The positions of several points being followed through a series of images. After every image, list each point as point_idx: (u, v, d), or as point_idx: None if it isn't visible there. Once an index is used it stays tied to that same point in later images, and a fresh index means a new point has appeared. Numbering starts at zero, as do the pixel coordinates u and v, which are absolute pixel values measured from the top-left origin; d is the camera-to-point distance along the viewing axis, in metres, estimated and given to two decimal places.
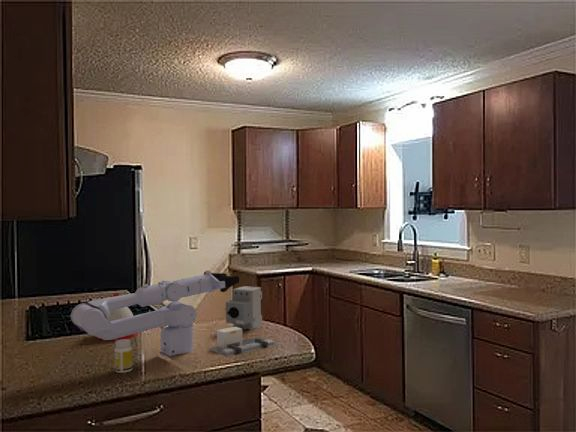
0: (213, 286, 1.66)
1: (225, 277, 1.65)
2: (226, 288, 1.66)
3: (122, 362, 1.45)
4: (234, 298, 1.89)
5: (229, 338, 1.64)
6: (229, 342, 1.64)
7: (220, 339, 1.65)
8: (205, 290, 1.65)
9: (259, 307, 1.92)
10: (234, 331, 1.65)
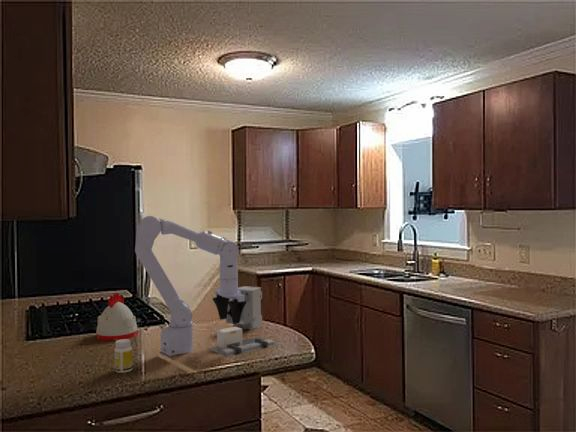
0: (231, 294, 1.63)
1: (244, 303, 1.63)
2: (234, 305, 1.61)
3: (122, 362, 1.45)
4: None
5: (229, 338, 1.64)
6: (229, 342, 1.64)
7: (220, 339, 1.65)
8: (228, 286, 1.63)
9: (259, 307, 1.92)
10: (234, 331, 1.65)
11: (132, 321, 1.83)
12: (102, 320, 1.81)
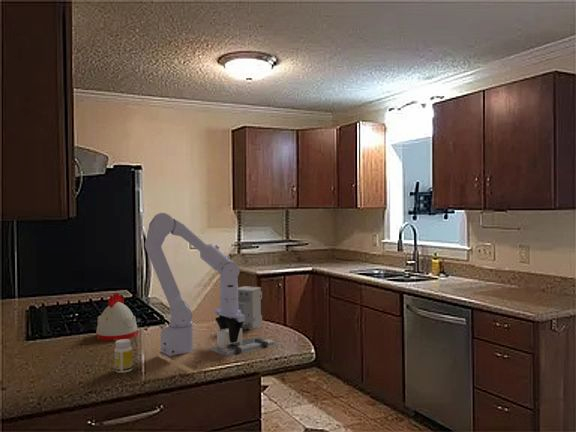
0: (232, 314, 1.64)
1: (242, 322, 1.64)
2: (232, 324, 1.62)
3: (122, 362, 1.45)
4: None
5: (229, 338, 1.64)
6: (229, 342, 1.64)
7: (220, 339, 1.65)
8: (228, 306, 1.64)
9: (259, 307, 1.92)
10: None
11: (132, 321, 1.83)
12: (102, 320, 1.81)
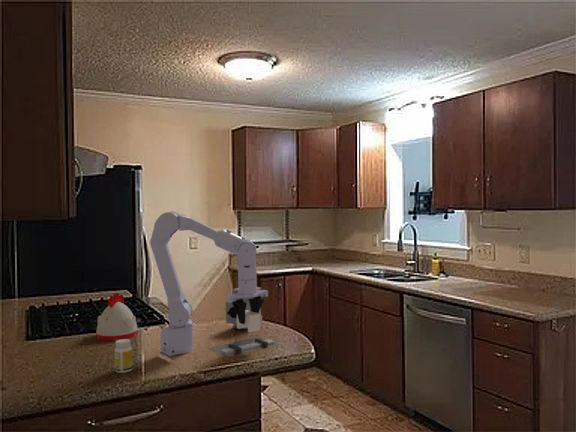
0: (238, 294, 1.62)
1: (239, 305, 1.59)
2: (233, 303, 1.62)
3: (123, 362, 1.45)
4: None
5: None
6: (240, 324, 1.63)
7: None
8: None
9: None
10: None
11: (132, 321, 1.83)
12: (102, 320, 1.81)
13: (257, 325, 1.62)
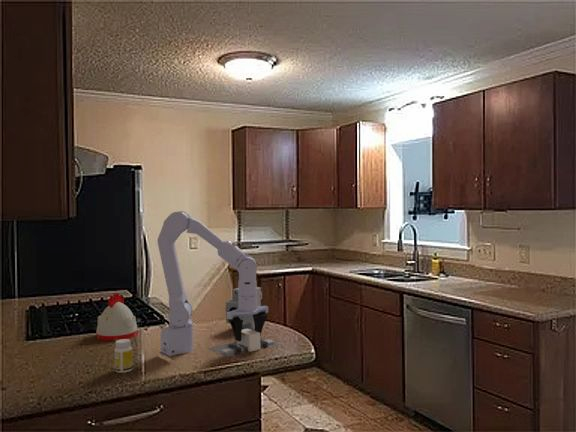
0: (238, 310, 1.62)
1: (235, 322, 1.59)
2: (229, 321, 1.61)
3: (122, 362, 1.45)
4: (234, 298, 1.89)
5: None
6: (240, 342, 1.64)
7: None
8: None
9: None
10: (244, 334, 1.62)
11: (132, 321, 1.83)
12: (102, 320, 1.81)
13: (257, 344, 1.62)
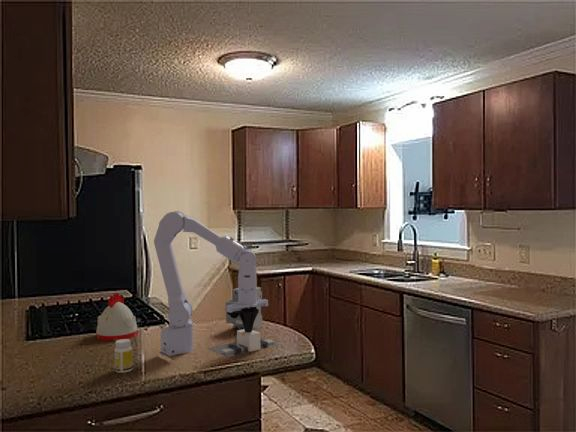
0: (238, 304, 1.62)
1: (244, 314, 1.61)
2: (238, 312, 1.64)
3: (122, 362, 1.45)
4: (234, 298, 1.89)
5: (240, 338, 1.64)
6: (240, 342, 1.64)
7: None
8: None
9: (259, 307, 1.92)
10: (244, 334, 1.62)
11: (132, 321, 1.83)
12: (102, 320, 1.81)
13: (257, 344, 1.62)
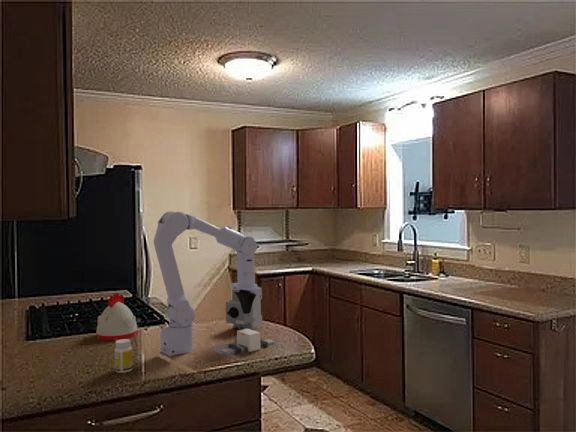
0: (249, 287, 1.70)
1: (255, 295, 1.72)
2: (246, 296, 1.70)
3: (122, 362, 1.45)
4: (234, 298, 1.89)
5: (240, 338, 1.64)
6: (240, 342, 1.64)
7: None
8: (245, 279, 1.70)
9: (259, 307, 1.92)
10: (244, 334, 1.62)
11: (132, 321, 1.83)
12: (102, 320, 1.81)
13: (257, 344, 1.62)
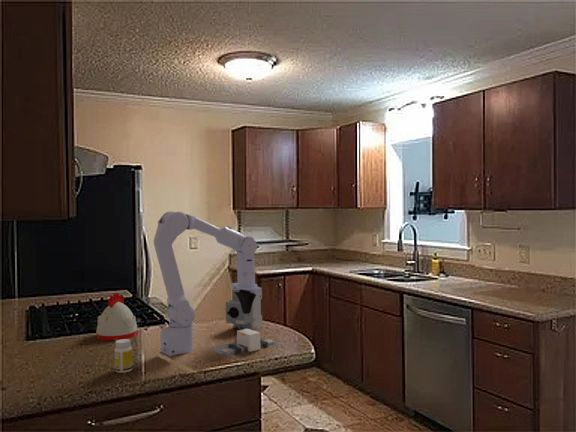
0: (249, 287, 1.70)
1: (255, 295, 1.72)
2: (246, 296, 1.70)
3: (122, 362, 1.45)
4: (234, 298, 1.89)
5: (240, 338, 1.64)
6: (240, 342, 1.64)
7: None
8: (245, 279, 1.70)
9: (259, 307, 1.92)
10: (244, 334, 1.62)
11: (132, 321, 1.83)
12: (102, 320, 1.81)
13: (257, 344, 1.62)
